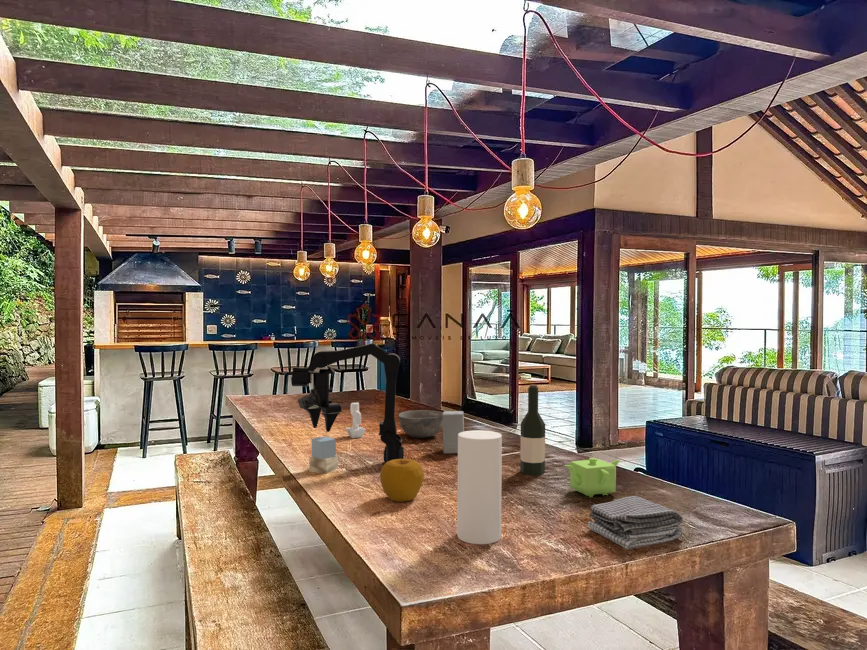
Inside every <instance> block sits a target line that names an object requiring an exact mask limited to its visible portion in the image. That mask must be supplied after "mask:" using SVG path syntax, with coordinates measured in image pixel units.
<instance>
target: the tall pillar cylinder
mask: <svg viewBox="0 0 867 650" xmlns="http://www.w3.org/2000/svg"><path fill="white" fill-rule="evenodd" d="M502 440H503V435H502V433H500V432H497V431H492V430H478V429H477V430H466V431H465V430H464V432H461V433H459V434H458V453H457V508H456V509H457V512H456V513H457V514H456V515H457V518H456V520H457V523H456V525H457V527H456V528H457V529H456V530H457V533H456V535H457V538H458V539H459V540H460V541H463V542H464V543H467V544H472V545H489V544H495V543H496V542H498V541H500V539H501V538H502V470H503V469H502V468H503V467H502V460H503V459H502V458H503V457H502V455H503V453H502V452H503V451H502V450H503V449H502V448H503V447H502V446H503V445H502V444H503V443H502V442H503V441H502Z"/></svg>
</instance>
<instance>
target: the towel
mask: <svg viewBox="0 0 867 650" xmlns="http://www.w3.org/2000/svg"><path fill="white" fill-rule="evenodd" d="M589 510H590V513H589V515H588V516H589V517H590V518H592V520H593V521H591V520H590V521H588V522H587V525H588V527H589V530H591V531H592V532H594V533H597V534H598V535H600V536H602V537H604V538H606V539H608V540H610V541H611V542H613V543H615V544H616V545H619V546H621V547H622V548H624V549H625V550H632V549H636V548H637V549H638V548H641V547H642V548H643V547H648V546H654V545H660V544H663V543H668V542H669V543H670V542H673V541H675V540H677V539H679V538H680V537H681V535H682V534H683V528H682V527H681V526H680V525H681V524H682V523H683V517H682V515H681V514H680V513H678V512H677V511H676V510H674V509H672V508H668V507H666V506H663V505H661V504H659V503H656V502H653V501H651V500H647V499H645V498H643V497H640V496H637V495H630V496H625V497H621V498H617V499H614V500H611V501H609V502H608V501H607V502H603V503H597V504H592V505H590V508H589Z"/></svg>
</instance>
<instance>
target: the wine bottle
mask: <svg viewBox="0 0 867 650" xmlns="http://www.w3.org/2000/svg"><path fill="white" fill-rule="evenodd" d="M527 394H528V395H527V412H526V414H525V415H524V417H523V419H522V421H521V422H520V447H519V448H520V455H519V456H520V459H519V462H520V463H519V464H520V470H519V471H520V473H522V474H523V475H530V476H542V475H544V474H545V473H546V423H545V421H544V420H543V417H542V416H541V414H540V413H539V387H538V385H537V384H529V387H527Z"/></svg>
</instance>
